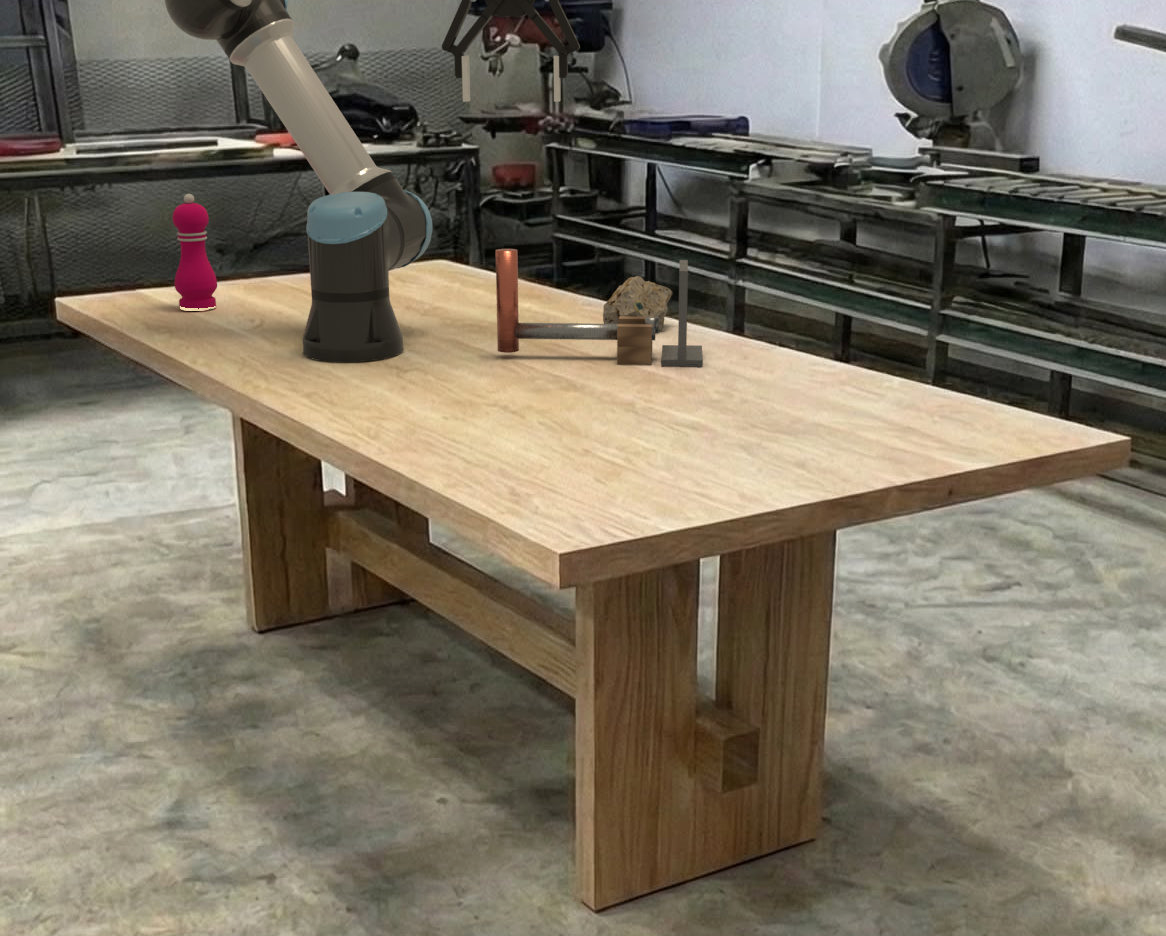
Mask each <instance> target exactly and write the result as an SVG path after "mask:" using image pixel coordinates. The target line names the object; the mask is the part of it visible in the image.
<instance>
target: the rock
mask: <svg viewBox="0 0 1166 936" xmlns="http://www.w3.org/2000/svg"><path fill="white" fill-rule="evenodd" d="M672 296H673V291H672V290H671V288H669V287H666V286H664V285H660V284H657V283H655V282H652V281H650V280H648V281H645V280H644V278H642V277H641V276H639V275H637V276H634V277H633V276H631V277H628V278H627V279H626V280H625V281H624V282H623V284H621V285H618V287H617V288H616V290H615V291H614V292H613V293H612V296H610V298H609V299H608V300H607V301H606V303H604V304H603V311H602V317H603V318H602V322H603V324H619V316H632V317H650V316H654V317H659V331H661V330H662V329H663V328H662V327H663V326H664V325H665V317H666V315H667V312H668V307H667V305H668V303H669V301H670V299H671V297H672Z"/></svg>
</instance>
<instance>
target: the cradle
mask: <svg viewBox="0 0 1166 936" xmlns="http://www.w3.org/2000/svg"><path fill="white" fill-rule="evenodd" d="M616 342H617V343H616V344H617V345H616V349H617V350H616V365H630V366H632V365H637V366H639V365H641V366H642V365H644V366H645V365H646V366H651V365H652V360H653V340H652V324H645V317H632V316H619V324H618V326H617V340H616Z"/></svg>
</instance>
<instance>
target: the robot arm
mask: <svg viewBox="0 0 1166 936" xmlns="http://www.w3.org/2000/svg"><path fill="white" fill-rule="evenodd" d="M476 1H477V0H461V1H460V3H459V6H458V7H457V11H456V12H455V15H454V17H453V19H452V22H451V24H450V26H449V28H448V31H447V32H446V35H445V38H444V40H443V42H442V45H441V49H442V50H443V51H444V52H447V53H450V54H451V55H453V58H454V75H455V78H456V79H462V80H461V81H462V82H461V84H462V85H461V86H462V102H464V103H465V102H466V103H468V102H470V101H471V74H470V73H471V71H470V68H471V67H470V65H471V64H470V55H465V52H466V51H467V50H468V49H469V47H470V46H471V45H472V43H474V41H475V40H476V39H477V37H478V36H479V35H480V33H482V30H484V28H485V27H486V25H487V24H488V23H489V22H490V21H491V20H492V19H493V17H494V16H496V17H498V18H508V17H512V18H523V17H525V16H526V15H527V16H528V18H529V19H530V20H531V21H532V22H533V24H534V25H535V26H536V27H537V29H538V30H539V31H540V32H541V33H542V34H543V36H544V37H545V38H546V40H547V41H548V42H549V43H550V44H551V45H552V47H553V48H554V49H555V51H556V52H557V53H558V55H553V102H555V103H556V102H557V103H558V102H561V97H562V96H561V79H566V78H567V77H568V75H569V73H568V72H569V62H568V61H569V60H568V59H569V55H570V54H571V53H574V52H576V51H578V50H580V48H581V45H580V42H579V41H578V39H577V37H576V34H575V32H574V30H573V28H572V26H571V24H570V21H569V20H568V17H567V15H566V13H565V11H564V9H563V7H562V5H561V3H560V1H559V0H544V1H545V2H549V5H550V7H551V11H552V12H553V15H554V17H555V18H556V20H557V22H558V24H559V27H560V28H561V31H562V32H563V34H564V37H565V39H566V41H567V43H568V44H567V45H565V44H564V43H563V42H562V40H561V39H560V38H559V37H558V36H557V34H556V33H555V32H554V31H553V29H552V28H551V27H550V26H549V24H548V23H547V22H546V21H545V20H544V18H543V17H542V16H541V15H540V13H539V11H537V9H536V8H535V7H534V6H533V5H534V4H535V3H536V1H537V0H484V2H485V3H486V4H487V6H486V7H485V9H483V11H482V12H481V14H480V16H479V17H478V18H477V19H476V20H475V22H474V23H473V24H472V26H471V27H470V28H469V30H468V31H467V32H466V34H465V35H464V36H463V37H462V39H461V40H460V41H459V43H458V44H455V42H456V41H457V38H458V36H459V33H460V31H461V29H462V27H463V24H464V22H465V19H466V18H467V15H468V14H469V11H470V9H471V6H472V2H473V3H474V2H476ZM164 4H165V8H166V10H167V13H168V15H169V17H170V19H171V21H173V23H174V24H175V25H176V27H177V28H178V29H180V30H181V31H182V32H183V33H185V34H187V35H188V36H191V37H193V38H196V39H200V40H205V41H206V40H211V41H213V40H215V41H216V42H217V43H218V45H219V46H220V48H221V49H222V50H223V52H224V54H225V55H226V57H227V59H228V60H229V61H230V63H231V64H233V65H237V66H242V67H245V68H246V69H247V71H248V72H249V74H250V76H251V77H252V79H253V80H254V82H255V83H256V85H257V86H258V88H259V89H260V90H261V93H262V94H263V95H264V97H265V98H266V100H267V101H268V102H269V104H270V106H271V107H272V109H273V110H274V112H275V113H276V115H277V116H278V118H279V120H280V121H281V123H282V124H283V125H284V127H285V129H286V130H287V131H288V133H289V135H290V136H291V138H292V139H293V140H294V142H295V144H296V145H297V146H298V148H299V149H300V151H301V153H302V154H303V155H304V158H305V159H306V160H307V162H308V163H309V165H310V167H311V168H312V169H313V171H314V172H315V174H316V176H317V177H318V178H319V180H320V182H321V183H322V185H323V186H324V188H325V189H326V191H327V192H328V195H324V196H321V197H318V198H316V199H315V200H313V201H312V202H311V203H310V205H309V206H308V208H307V211H306V212H307V213H306V214H307V223H306V227H305V229H306V233H307V244H308V246H307V247H308V259H309V261H308V263H309V277H310V291H311V292H310V293H311V306H310V308H309V313H308V316H307V320H306V324H305V329H304V331H303V336H302V354H303V355H304V356H305V357H306V356H307V358H309V357H310V358H309V359H312V358H313V360H316V359H317V361H322V360H323V362H337V363H352V362H353V363H355V362H370V361H377V360H384V359H387V358H392V357H395V356H398V355H399V354H401V353H402V352H403V351H404V337H403V333H402V330H401V328H400V326H399V322H398V320H397V317H396V314H395V311H394V308H393V306H392V304H391V303H392V302H391V300H390V299H391V297H390V280H389V279H390V277H389V272H390V271H392V270H393V271H394V270H396V269H401V268H404V267H407V266H409V265H410V264H412V262H414V261H416V260H418V259H419V258H420V257H422V255H423V254H424V253H425V252H426V250H428V247H429V245H430V244H431V243H430V242H431V240H432V234H433V220H432V216H431V212H430V210H429V208H428V206H427V205H426V203H425V202H424V201H423V199H421V198H420V197H419V196H418V195H416V194H415V193H412V192H411V191H409V190H408V191H407V190H405V189H403V187H402V186H401V185H400V183H399V181H398V179H397V178H396V176H395V175H394V173H393V172H392V171H391V170H390V169H386V168H382V167H378V166H377V165H376V164H375V161H374V160H373V159H372V157H371V156H370V154H369V152H367V151H368V150H366V148H365V146H364V145H363V144H362V142H361V141H360V138H359V137H358V136H357V135H356V133H355V131H354V130H353V128H352V126H351V125H350V123H349V122H348V120H347V119H346V118H345V116H344V115H343V113H342V112H341V110H340V109H339V107H338V105H337V103H335V101H334V100H333V98H332V96H331V95H330V93H329V91H328V90H327V89H326V88H325V86H324V84H323V83H322V81H321V80H320V78H319V77H318V75H317V73H316V71H314V69H313V67H312V66H311V64H310V62H309V61H308V60H307V58H306V57H305V55H304V54H303V52H302V51H301V49H300V47H299V46H298V45H297V43H296V42H295V40H294V38H293V32H294V28H295V22H294V20H293V18H291V16H290V15H289V13H288V4H289V0H164Z"/></svg>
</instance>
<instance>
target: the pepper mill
mask: <svg viewBox="0 0 1166 936" xmlns="http://www.w3.org/2000/svg"><path fill="white" fill-rule="evenodd" d="M183 201H184V203H181V204H180V205H177V206H176V207H175V209H174V210H173V213H172V222H173V223H172V224H173V225H174V226H175V228H177V230H178V231H177V232H176V235H177V241H178V242H179V246H180V261H179V263H178V264H179V265H178V266H177V270H176V272H175V277H174V289H175V291H176V292H177V293H178V294H179V295H180V296H181V298H180V299H178V303H179V305H178V306H181V307H185V308H198V309H199V308H208V307H214V306H216V307H217V301H216V297H214V296H213V294H214V293H215V292H216V290H217V288H218V280H217V275H216V274H215V271H214V269H213V267H212V265H211V263H210V261H209V259H208V256H207V251H206V240H207V239H208V237H207V231H206V230H205V229H206V227H207V226H208V224H209V214H208V211H207V209H206V208H205V207H204V206H203V205H201V204H199V203H196V202H195V196H194V195H193V194H191V193H187V194H185V195H184V196H183Z"/></svg>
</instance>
